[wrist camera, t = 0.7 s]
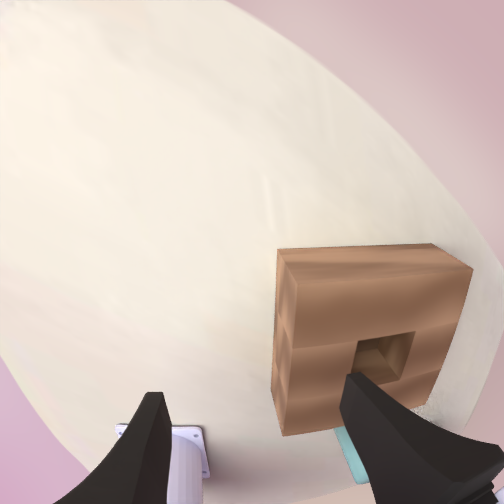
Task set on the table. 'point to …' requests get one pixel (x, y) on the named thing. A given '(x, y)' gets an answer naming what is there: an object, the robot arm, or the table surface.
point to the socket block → (360, 326)
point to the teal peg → (351, 456)
